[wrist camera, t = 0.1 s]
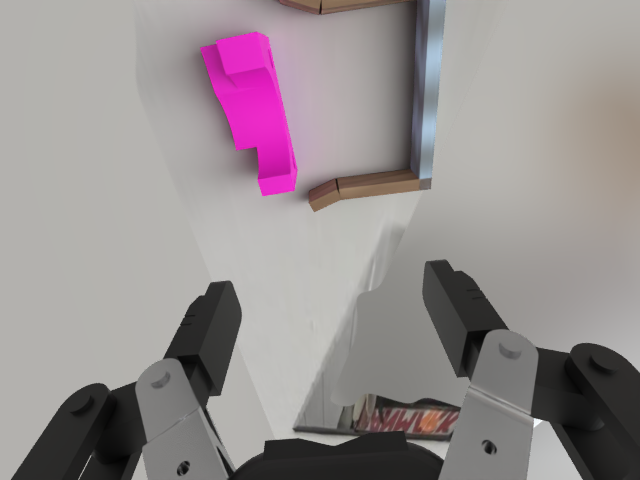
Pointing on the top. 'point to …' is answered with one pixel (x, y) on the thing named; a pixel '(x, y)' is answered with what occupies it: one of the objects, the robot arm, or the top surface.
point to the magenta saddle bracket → (254, 106)
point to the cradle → (424, 106)
